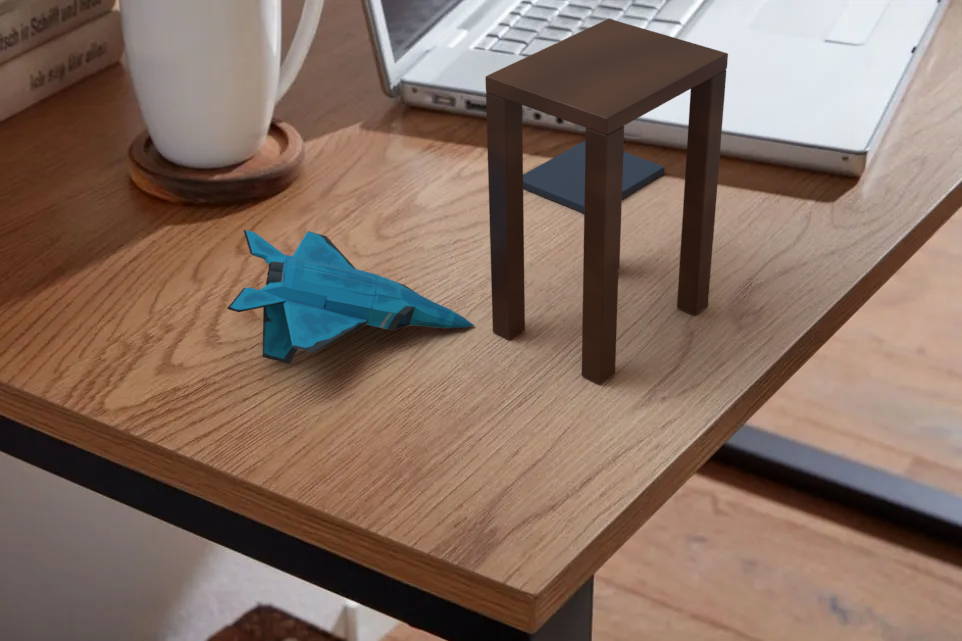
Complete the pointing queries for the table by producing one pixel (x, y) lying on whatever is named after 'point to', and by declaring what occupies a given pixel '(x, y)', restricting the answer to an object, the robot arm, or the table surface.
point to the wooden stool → (603, 164)
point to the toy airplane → (328, 299)
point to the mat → (583, 177)
